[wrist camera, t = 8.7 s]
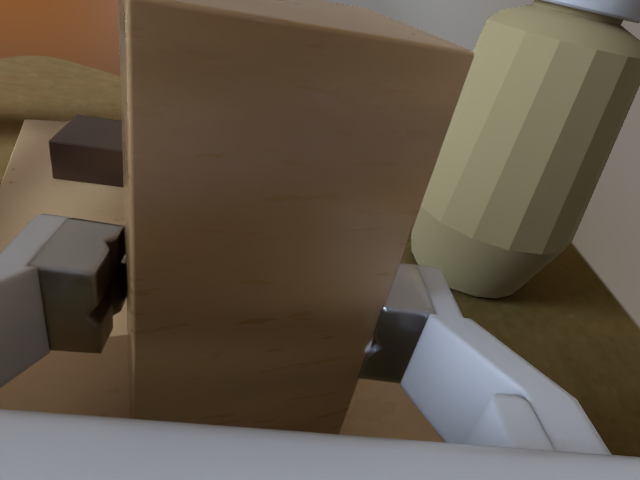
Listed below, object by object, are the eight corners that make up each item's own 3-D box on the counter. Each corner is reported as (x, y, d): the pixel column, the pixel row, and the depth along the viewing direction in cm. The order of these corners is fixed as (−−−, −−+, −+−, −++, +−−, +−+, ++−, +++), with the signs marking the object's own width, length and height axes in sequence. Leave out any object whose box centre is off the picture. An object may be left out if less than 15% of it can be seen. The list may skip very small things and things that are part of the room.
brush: (365, 371, 16) (490, 28, 10) (447, 518, 12) (720, 103, 6) (-25, 438, 11) (-196, -107, 6) (-89, 704, 8) (-792, -126, 2)
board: (249, 142, 34) (250, 132, 33) (365, 336, 19) (370, 322, 18) (26, 131, 28) (24, 118, 28) (-65, 395, 13) (-72, 376, 13)
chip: (153, 158, 27) (153, 125, 26) (137, 189, 23) (136, 152, 22) (78, 148, 26) (76, 113, 25) (51, 179, 23) (47, 140, 22)
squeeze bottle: (367, 266, 23) (518, -218, 14) (417, 212, 29) (542, -143, 20) (529, 343, 20) (851, -190, 11) (545, 265, 27) (757, -114, 18)
